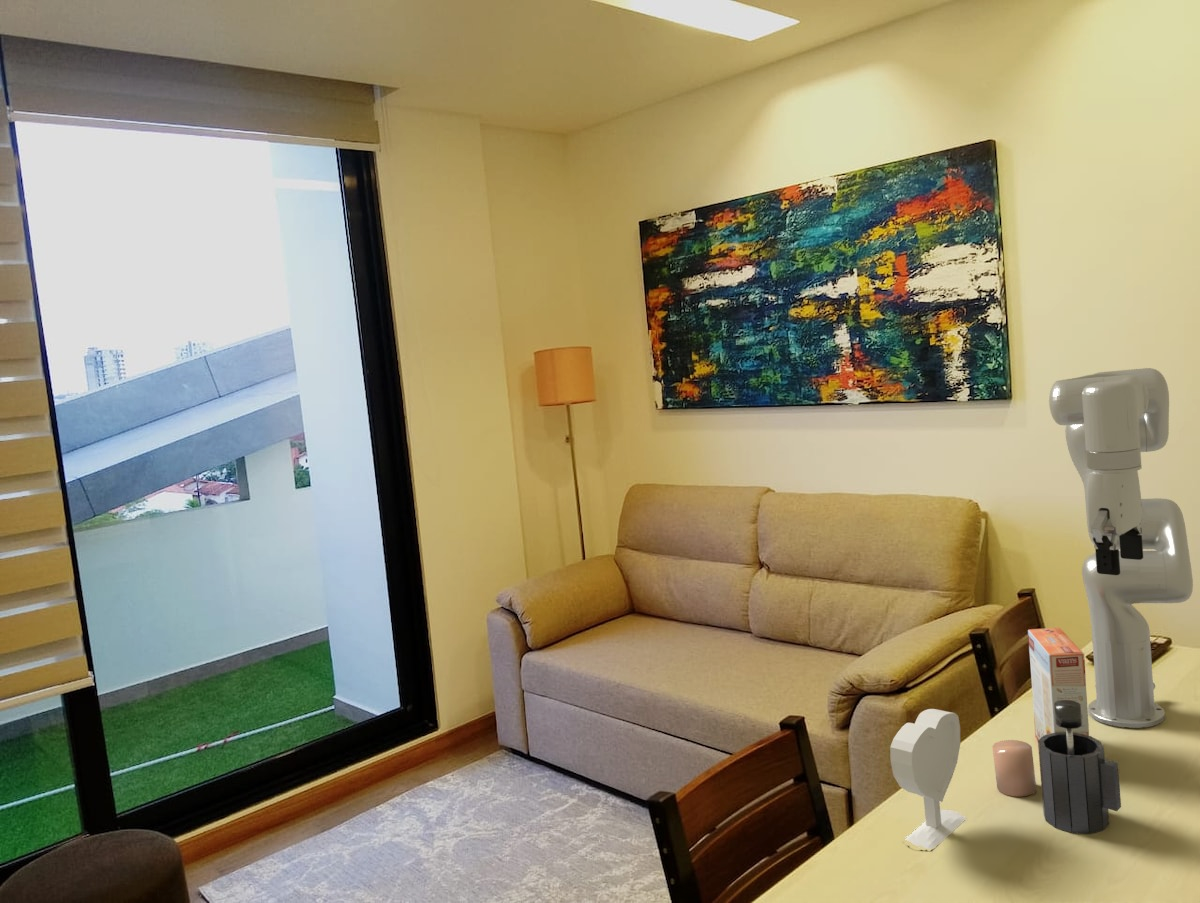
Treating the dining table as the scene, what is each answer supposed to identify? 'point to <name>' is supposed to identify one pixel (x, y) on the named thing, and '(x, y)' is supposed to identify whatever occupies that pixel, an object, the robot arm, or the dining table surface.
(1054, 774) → the grey paneled mug
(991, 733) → the dining table surface
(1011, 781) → the pink rounded cylinder
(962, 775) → the dining table surface
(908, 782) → the heart sculpture
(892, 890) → the dining table surface
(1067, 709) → the plunger
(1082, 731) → the cracker box
